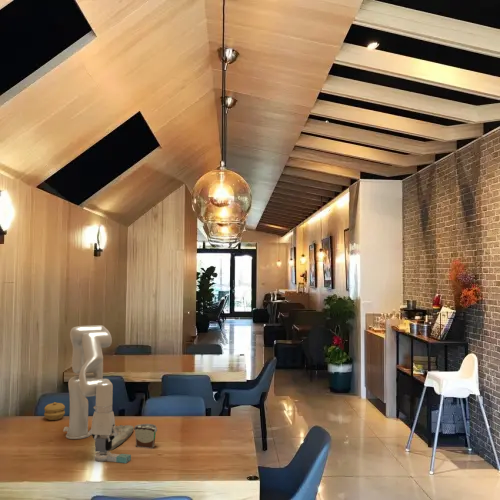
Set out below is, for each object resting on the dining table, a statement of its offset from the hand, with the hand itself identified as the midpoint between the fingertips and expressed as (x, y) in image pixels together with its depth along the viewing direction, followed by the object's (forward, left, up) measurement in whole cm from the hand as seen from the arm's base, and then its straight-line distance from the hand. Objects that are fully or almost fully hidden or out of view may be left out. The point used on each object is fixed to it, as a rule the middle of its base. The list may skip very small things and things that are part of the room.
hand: (103, 448), depth 234 cm
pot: (-66, +53, -5) cm, 85 cm away
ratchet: (+5, 0, -5) cm, 7 cm away
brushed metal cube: (0, 0, -1) cm, 1 cm away
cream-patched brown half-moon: (+11, +23, -5) cm, 26 cm away
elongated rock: (-8, +28, -5) cm, 30 cm away
